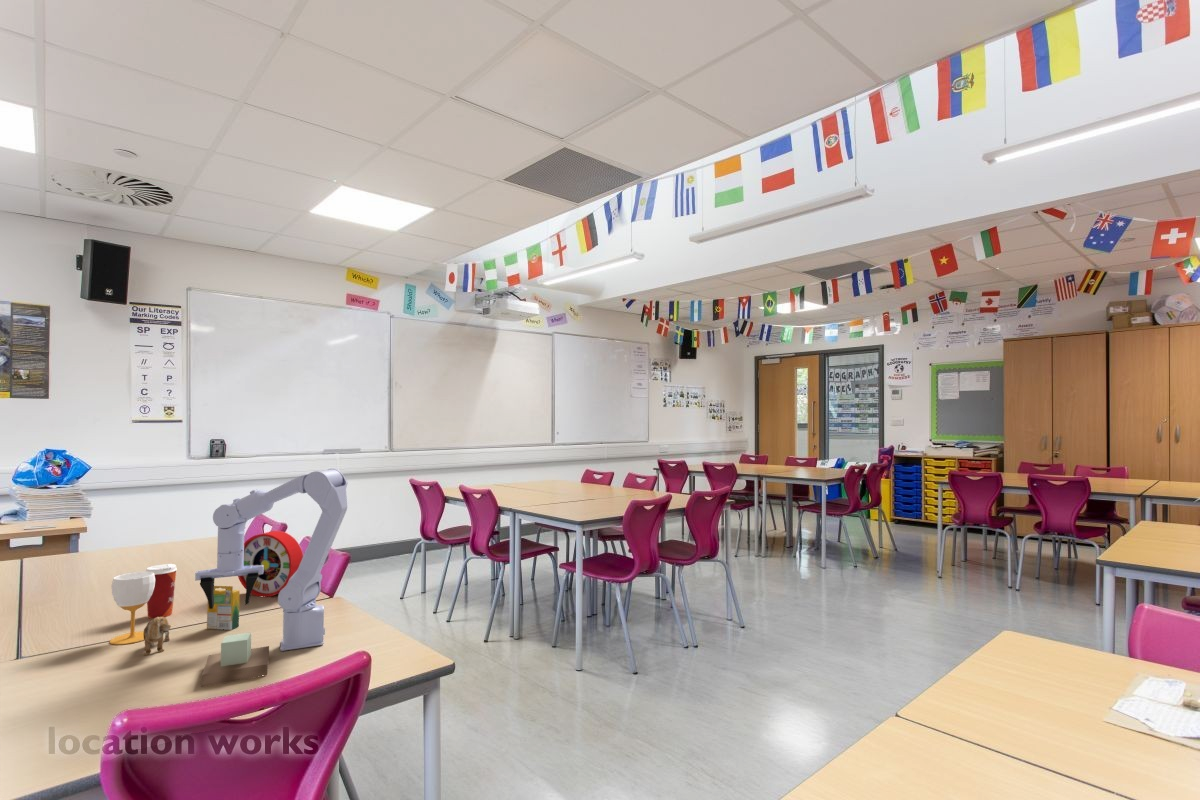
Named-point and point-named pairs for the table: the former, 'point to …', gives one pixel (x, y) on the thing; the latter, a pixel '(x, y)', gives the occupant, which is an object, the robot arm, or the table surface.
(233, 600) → the crayon box
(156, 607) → the paper cup
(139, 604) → the cup
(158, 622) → the tan animal figurine
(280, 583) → the toy clock
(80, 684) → the table surface
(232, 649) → the sage cube
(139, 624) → the table surface
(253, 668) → the walnut block
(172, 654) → the table surface
